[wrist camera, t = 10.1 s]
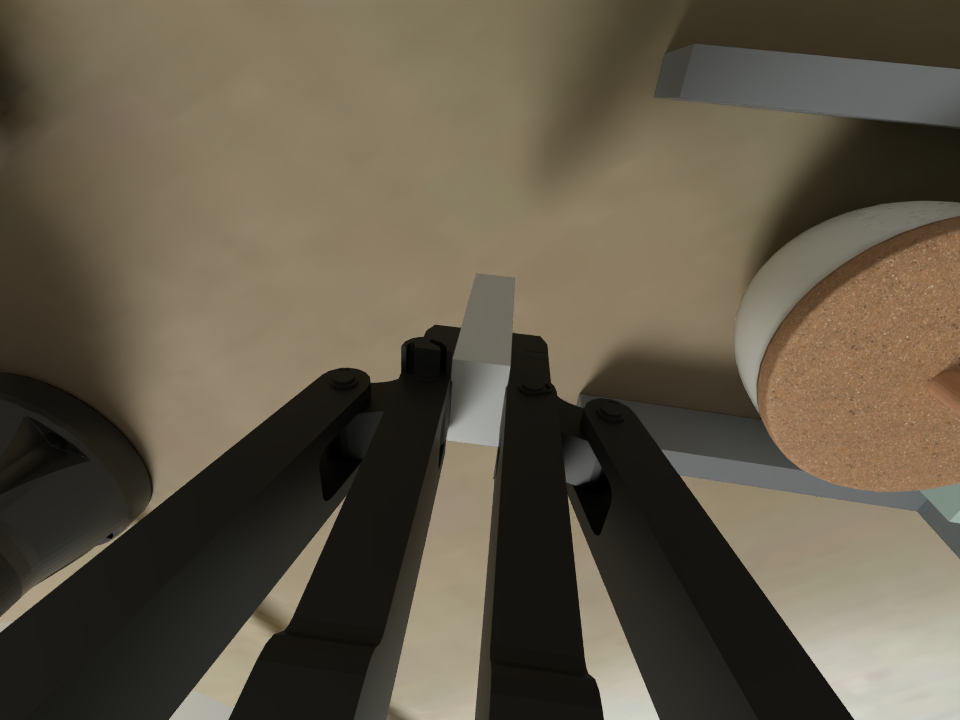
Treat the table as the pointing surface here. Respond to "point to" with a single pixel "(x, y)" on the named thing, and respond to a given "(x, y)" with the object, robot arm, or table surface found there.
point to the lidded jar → (861, 347)
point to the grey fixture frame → (804, 89)
